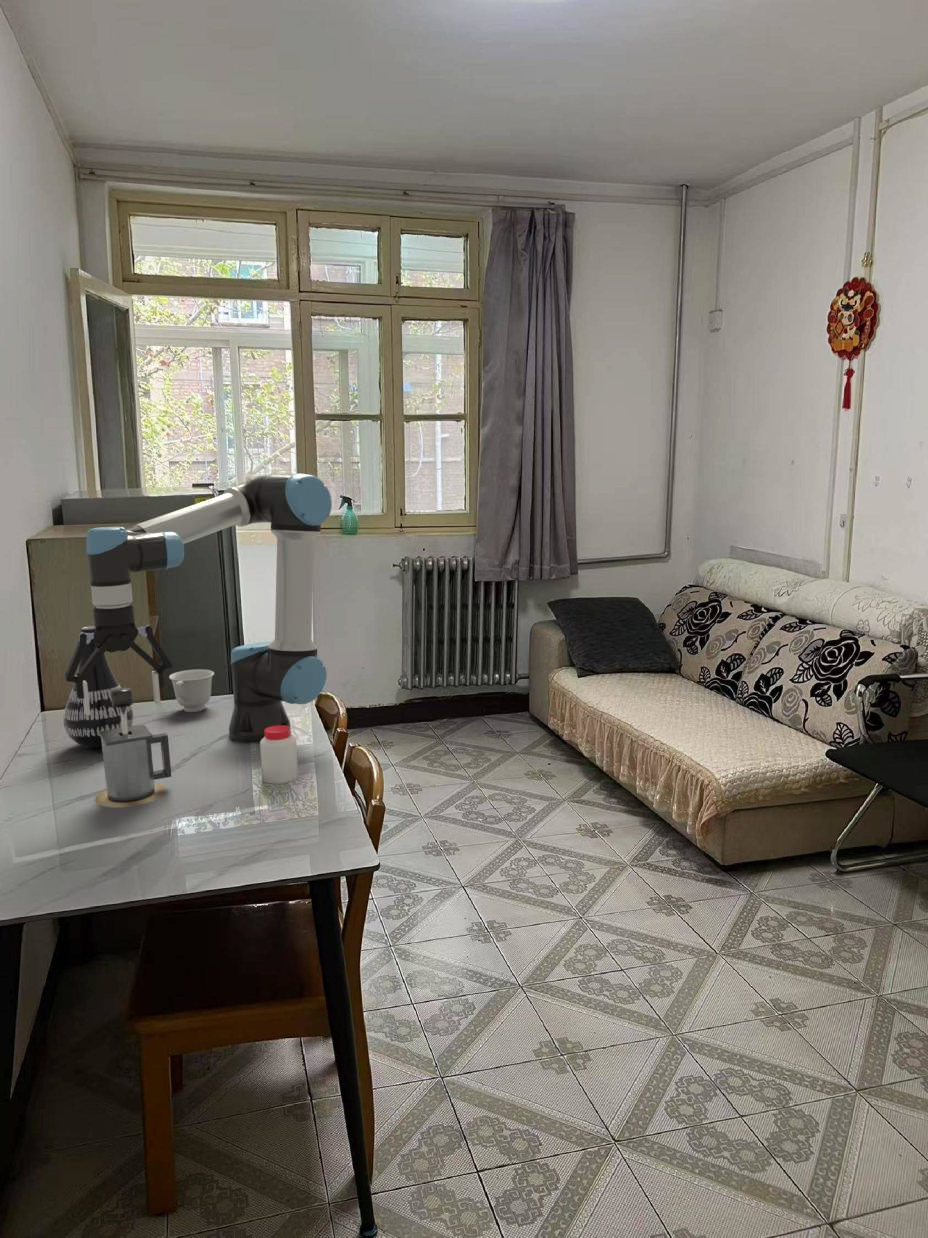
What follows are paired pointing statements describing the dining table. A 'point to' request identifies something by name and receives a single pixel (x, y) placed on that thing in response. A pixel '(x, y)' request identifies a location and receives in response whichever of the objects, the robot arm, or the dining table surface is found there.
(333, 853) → the dining table surface
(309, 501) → the robot arm
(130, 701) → the plunger
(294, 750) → the pill bottle
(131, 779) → the french press
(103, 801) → the ring
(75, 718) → the vase
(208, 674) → the teacup
